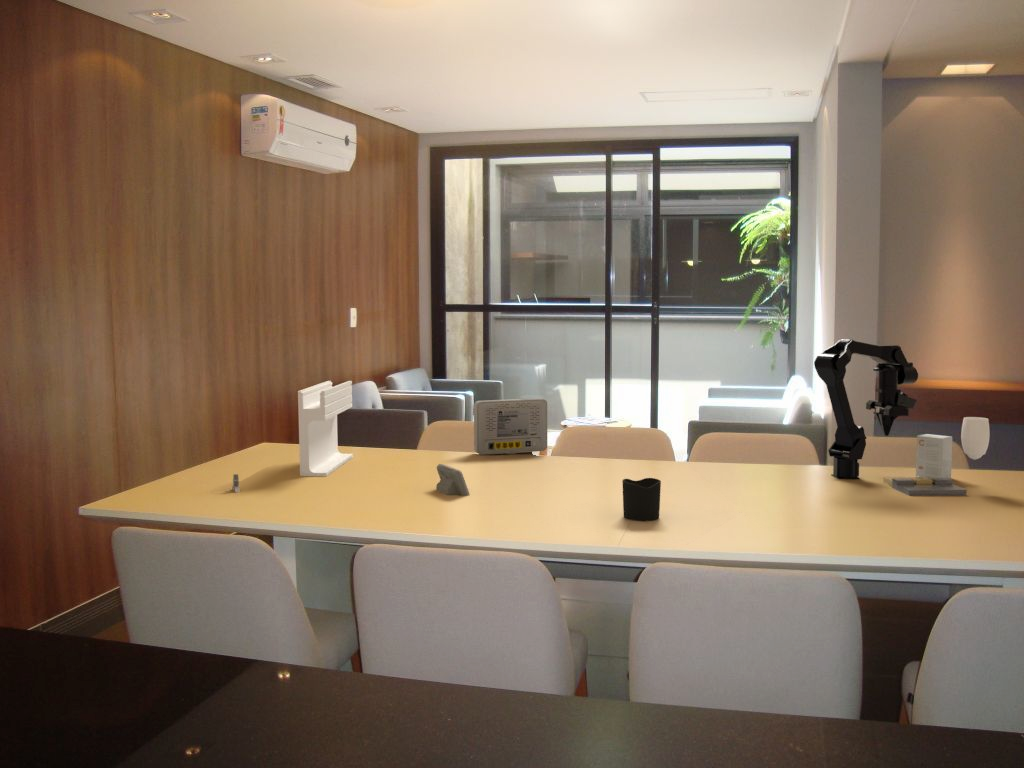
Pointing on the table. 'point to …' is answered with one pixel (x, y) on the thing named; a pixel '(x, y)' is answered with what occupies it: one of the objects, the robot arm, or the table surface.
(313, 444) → the white device stand
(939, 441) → the small box
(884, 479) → the tan rectangular slab
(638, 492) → the pen holder
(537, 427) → the network device
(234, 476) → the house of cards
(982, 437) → the grey rounded piece
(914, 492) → the fixed leaf
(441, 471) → the digital clock
